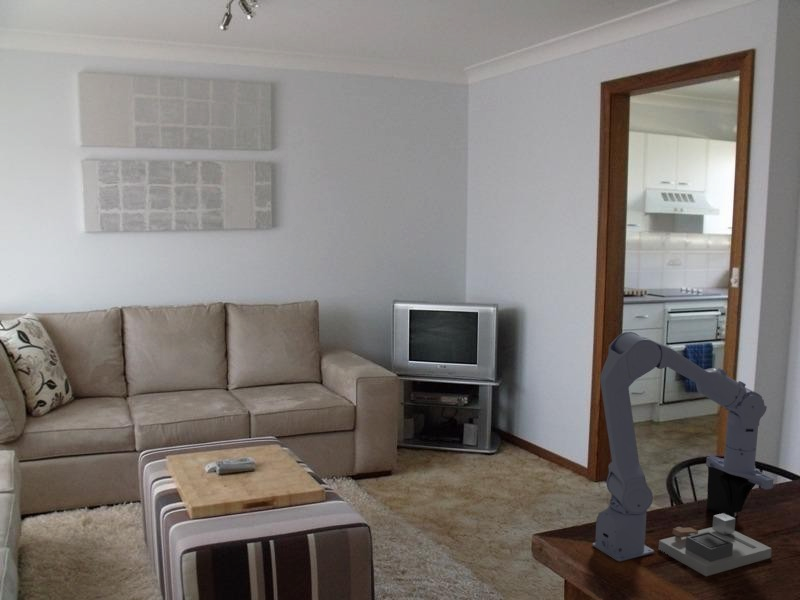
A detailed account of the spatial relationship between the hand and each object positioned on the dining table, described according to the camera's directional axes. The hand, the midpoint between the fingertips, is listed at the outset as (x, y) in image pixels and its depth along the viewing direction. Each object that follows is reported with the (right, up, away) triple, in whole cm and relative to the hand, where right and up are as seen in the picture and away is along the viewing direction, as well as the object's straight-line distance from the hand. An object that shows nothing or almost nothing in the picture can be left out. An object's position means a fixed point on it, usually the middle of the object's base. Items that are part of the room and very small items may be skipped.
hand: (735, 510), depth 152 cm
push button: (-8, -6, -6) cm, 12 cm away
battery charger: (+6, -6, +19) cm, 20 cm away
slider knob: (-1, -5, +3) cm, 6 cm away
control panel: (-5, -8, -2) cm, 10 cm away
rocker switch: (-10, -4, -1) cm, 11 cm away
